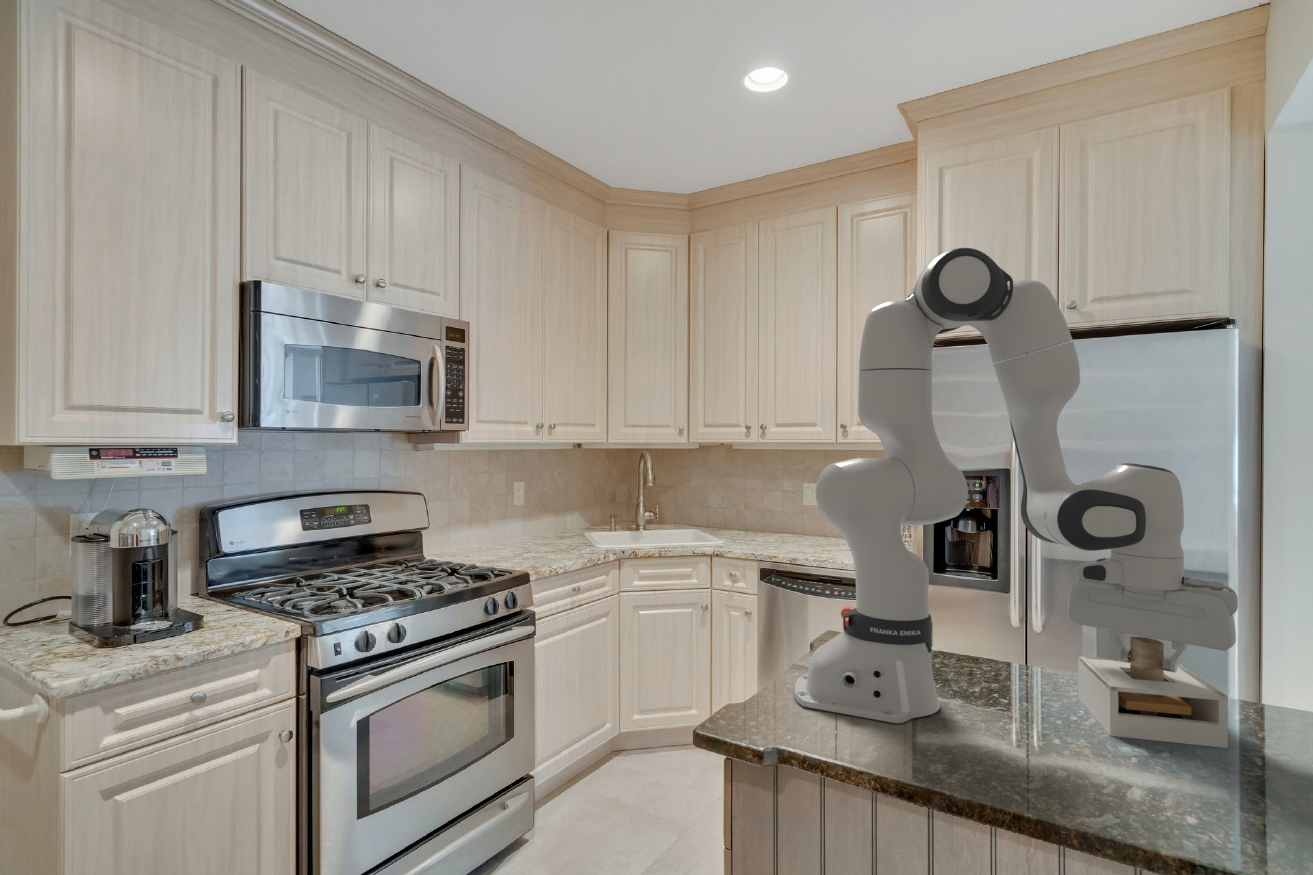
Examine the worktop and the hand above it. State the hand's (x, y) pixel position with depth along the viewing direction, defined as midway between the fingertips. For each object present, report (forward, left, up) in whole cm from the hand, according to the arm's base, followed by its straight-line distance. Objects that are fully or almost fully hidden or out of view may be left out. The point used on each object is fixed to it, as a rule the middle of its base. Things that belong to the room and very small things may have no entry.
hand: (1146, 665), depth 101 cm
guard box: (0, 0, -8) cm, 8 cm away
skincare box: (-2, +12, -8) cm, 15 cm away
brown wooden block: (0, 0, -4) cm, 4 cm away
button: (0, 0, -7) cm, 7 cm away
